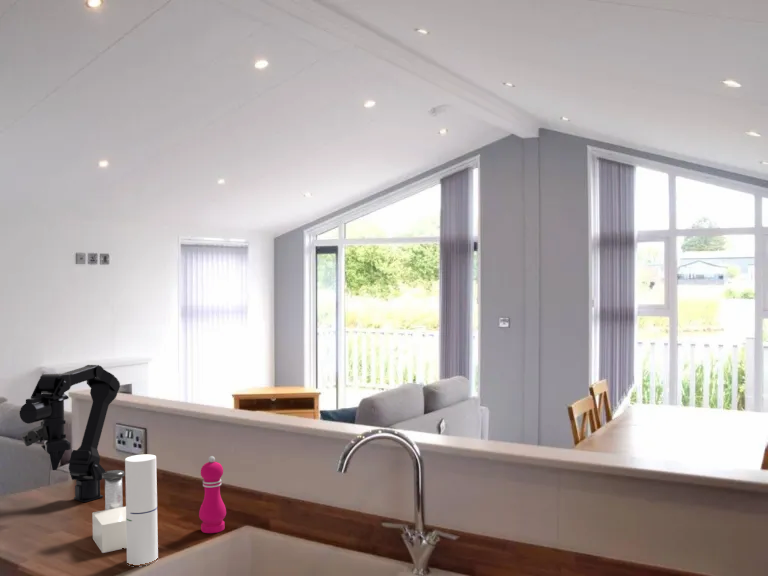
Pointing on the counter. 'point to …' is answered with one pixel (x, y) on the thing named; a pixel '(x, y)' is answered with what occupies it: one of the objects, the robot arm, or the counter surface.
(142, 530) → the cylindrical container
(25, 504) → the counter surface
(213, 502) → the pepper mill
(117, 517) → the block
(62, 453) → the robot arm
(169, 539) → the counter surface
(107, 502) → the silver jar
